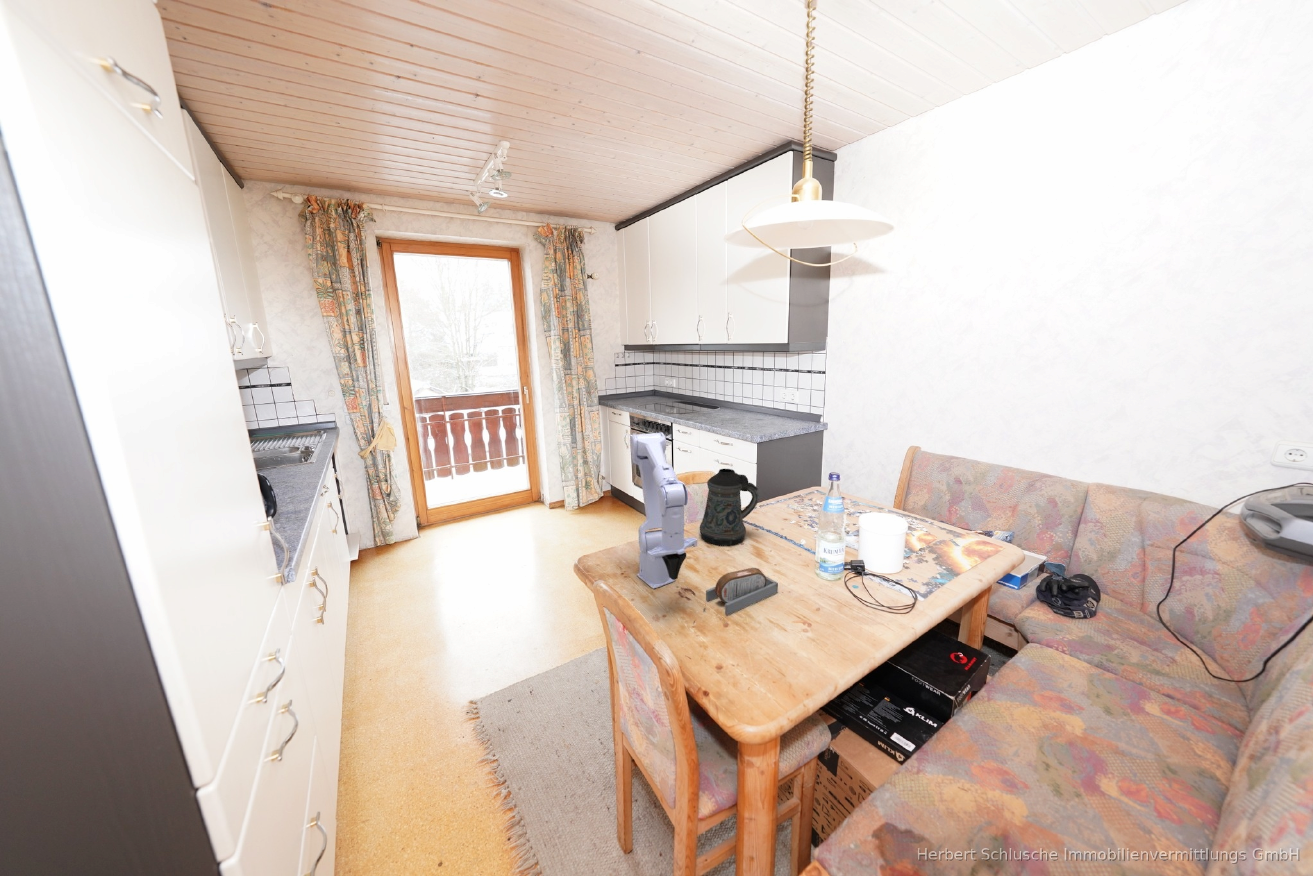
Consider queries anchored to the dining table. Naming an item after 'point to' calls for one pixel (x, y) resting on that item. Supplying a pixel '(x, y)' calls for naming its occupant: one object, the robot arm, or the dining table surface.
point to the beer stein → (726, 508)
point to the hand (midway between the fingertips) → (673, 577)
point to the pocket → (746, 597)
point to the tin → (739, 584)
